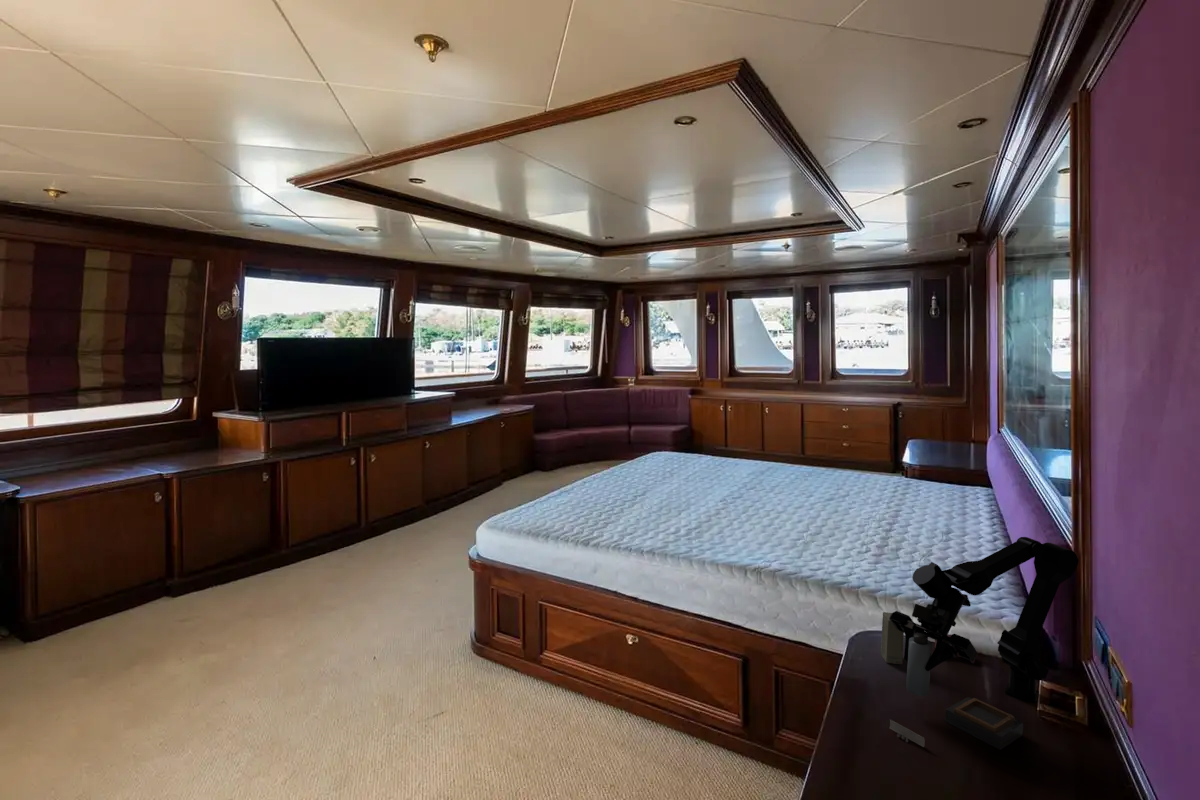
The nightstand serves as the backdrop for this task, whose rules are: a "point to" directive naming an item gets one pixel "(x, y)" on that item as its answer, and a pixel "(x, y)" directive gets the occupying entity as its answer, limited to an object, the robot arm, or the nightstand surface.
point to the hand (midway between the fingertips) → (915, 665)
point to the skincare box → (891, 641)
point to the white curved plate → (907, 733)
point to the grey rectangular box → (984, 722)
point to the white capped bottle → (918, 665)
